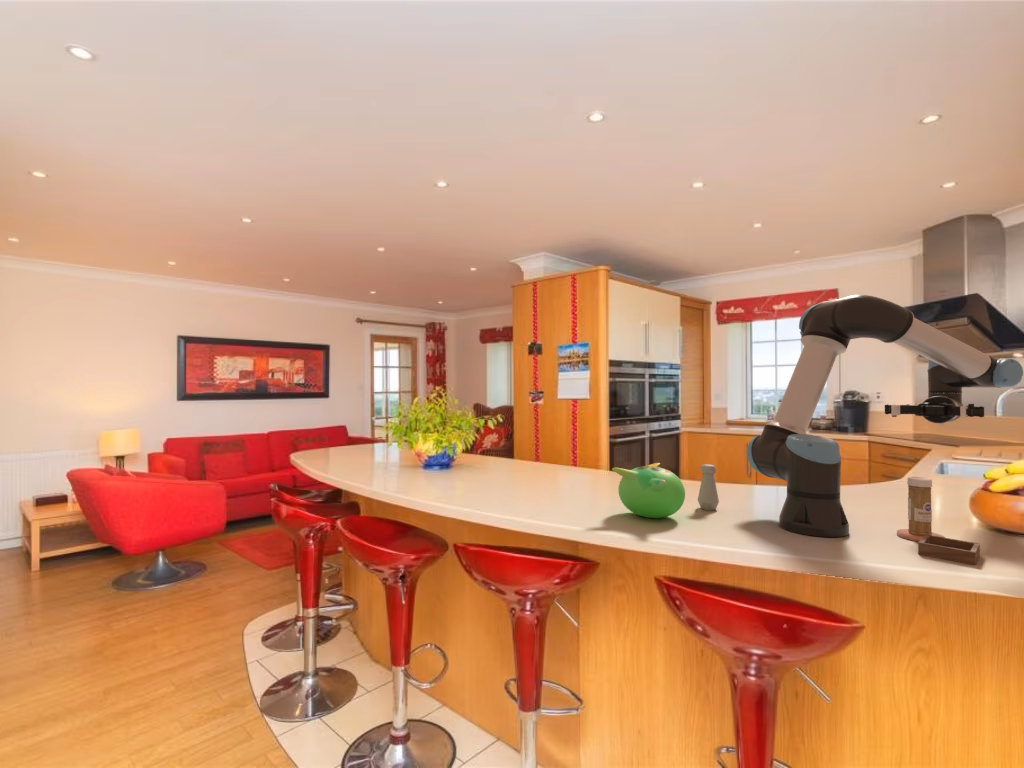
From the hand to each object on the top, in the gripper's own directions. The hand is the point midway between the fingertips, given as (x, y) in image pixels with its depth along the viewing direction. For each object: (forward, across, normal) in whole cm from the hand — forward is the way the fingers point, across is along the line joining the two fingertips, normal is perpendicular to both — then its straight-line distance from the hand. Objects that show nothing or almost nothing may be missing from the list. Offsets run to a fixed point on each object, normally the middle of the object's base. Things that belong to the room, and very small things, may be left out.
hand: (926, 411), depth 127 cm
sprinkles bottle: (+10, 0, -29) cm, 31 cm away
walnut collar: (+21, -6, -30) cm, 37 cm away
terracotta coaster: (+10, 0, -30) cm, 32 cm away
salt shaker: (+19, +48, -30) cm, 60 cm away
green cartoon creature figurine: (+41, +54, -30) cm, 74 cm away
